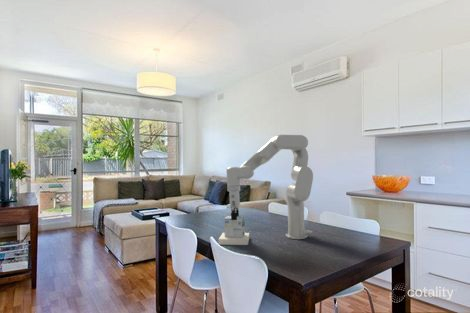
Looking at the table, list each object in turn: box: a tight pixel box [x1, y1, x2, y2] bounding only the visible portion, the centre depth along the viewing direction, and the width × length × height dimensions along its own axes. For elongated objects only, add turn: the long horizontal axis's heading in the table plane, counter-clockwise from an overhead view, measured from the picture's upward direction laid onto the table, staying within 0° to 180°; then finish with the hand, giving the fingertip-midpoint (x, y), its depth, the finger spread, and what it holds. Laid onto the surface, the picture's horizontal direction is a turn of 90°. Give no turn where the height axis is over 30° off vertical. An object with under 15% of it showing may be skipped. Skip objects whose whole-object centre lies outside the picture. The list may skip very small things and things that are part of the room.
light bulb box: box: [223, 215, 246, 238], centre depth 157 cm, size 11×7×11 cm, turn 76°
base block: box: [218, 232, 250, 246], centre depth 157 cm, size 16×14×3 cm
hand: (235, 218), depth 157 cm, fingers open, 9 cm apart
